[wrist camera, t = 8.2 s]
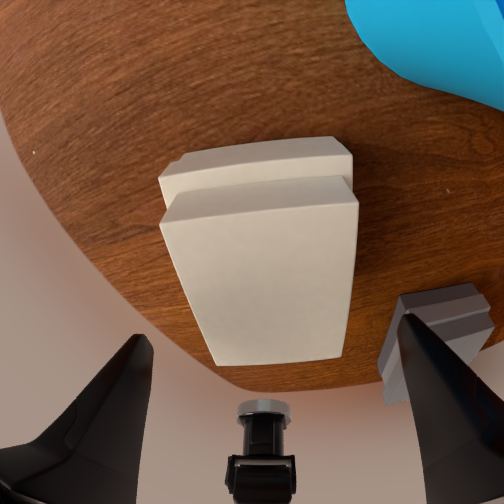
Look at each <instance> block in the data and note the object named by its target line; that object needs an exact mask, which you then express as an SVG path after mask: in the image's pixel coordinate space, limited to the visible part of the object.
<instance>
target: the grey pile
mask: <svg viewBox="0 0 504 504" xmlns="http://www.w3.org/2000/svg"><path fill="white" fill-rule="evenodd" d="M489 309H490V305H489V304H488V302H487V300H486V299H485V297H484V295H483V294H479V292H478V291H477V289H476V288H475V286H474V284H473V283H472V282H471V283H466V284H461V285H456V286H451V287H446V288H440V289H434V290H429V291H423V292H417V293H411V294H404V295H399V297H398V301H397V304H396V308H395V311H394V314H393V317H392V321H391V324H390V327H389V330H388V333H387V336H386V339H385V341H384V344H383V347H382V350H381V353H380V355H379V358H378V360H377V366H378V370H379V374H380V376H381V375H382V378H383V382H384V388H383V390H382V394H383V398H384V402H385V405H389V404H393V403H397V402H401V401H406V400H410V398H409V394H408V390H407V386H406V382H405V378H404V374H403V369H402V363H401V356H400V350H399V344H398V339H397V327H398V325H399V322H400V319H401V316H402V315H403V314H407V313H414V314H415V315H416V316H418V317H419V318H420V319H421V320H422V321H423V322H424V323H425V324H426V325H427V326H428V327H429V328H430V329H431V330H432V331H433V332H434V333H436V334H437V335H438V336H439V337H440V338H441V339H442V340H443V341H444V342H445V343H446V344H447V345H448V346H449V347H450V348H451V349H452V350H453V351H454V352H455V353H456V354H457V355H458V356H459V357H460V358H461V359H462V360H463V361H464V362H465V363H466V364H467V365H469V364H470V363H471V361H472V360H473V359H474V357H475V356H476V354H477V353H478V352H479V350H480V349H481V348H482V346H483V345H484V343H485V342H486V340H487V339H488V337H489V336H490V334H491V333H492V331H493V329H494V328H495V325H494V323H493V322H492V320H491V318H490V316H489V314H488V311H489Z"/></svg>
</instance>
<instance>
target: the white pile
mask: <svg viewBox="0 0 504 504" xmlns="http://www.w3.org/2000/svg"><path fill="white" fill-rule="evenodd" d="M339 175H341V176H342V177H343V178H344V180H345V181H346V183H347V185H348V186H349V188H350V189H351V191H352V189H353V156H352V154H351V153H350V152H349V151H348V150H347V149H346V148H345V147H344V146H343V145H342V144H341V143H340V142H338V141H337V140H336V139H335V138H334V137H333V136H325V137H308V138H295V139H283V140H273V141H264V142H255V143H247V144H240V145H233V146H226V147H219V148H213V149H207V150H201V151H195V152H190V153H185V154H184V155H183V156H182V158H181V159H180V160H179V161H175V162H172V163H170V165H169V166H168V167H167V168H166V169H165V170H164V172H163V173H162V174H161V175H160V176H159V178H158V180H159V183H160V187H161V190H162V193H163V197H164V200H165V203H166V206H167V210H168V208H169V206H170V204H171V203H172V201H173V199H174V198H175V196H176V195H177V194H180V193H186V192H192V191H199V190H205V189H212V188H220V187H227V186H235V185H243V184H251V183H259V182H269V181H278V180H288V179H299V178H311V177H324V176H339Z"/></svg>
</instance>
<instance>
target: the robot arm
mask: <svg viewBox="0 0 504 504" xmlns="http://www.w3.org/2000/svg"><path fill="white" fill-rule="evenodd" d="M397 339H398V344H399V350H400V356H401V363H402V369H403V374H404V378H405V382H406V386H407V390H408V394H409V398H410V403H411V407H412V411H413V416H414V421H415V425H416V431H417V436H418V441H419V447H420V452H421V459H422V466H423V473H424V482H425V490H426V501H427V504H504V401H503V400H502V399H500V398H499V397H498V396H497V395H496V394H495V393H494V392H493V391H492V390H491V389H490V388H489V387H488V386H487V385H486V384H485V383H484V382H483V381H482V380H481V379H480V378H479V377H477V375H476V374H475V373H474V372H473V371H472V370H471V369H470V367H469V366H468V365H467V364H466V363H465V362H464V361H463V360H462V359H461V358H460V357H459V356H458V355H457V354H456V353H455V352H454V351H453V350H452V349H451V348H450V347H449V346H448V345H447V344H446V343H445V342H444V341H443V340H442V339H441V338H440V337H439V336H438V335H437V334H436V333H434V332H433V331H432V330H431V329H430V328H429V327H428V326H427V325H426V324H425V323H424V322H423V321H422V320H421V319H420V318H419V317H418V316H416V315H415V314H414V313H407V314H403V315H402V316H401V319H400V322H399V325H398V327H397ZM153 354H154V350H153V347H152V345H151V344H150V342H149V340H148V339H147V337H146V336H145V335H144V334H134V335H132V336H131V337H130V338H129V339H128V341H127V342H126V343H125V344H124V345H123V346H122V347H121V348H120V349H119V350H118V352H117V353H116V354H115V355H114V356H113V357H112V358H111V359H110V360H109V361H108V362H107V364H106V365H105V366H104V367H103V368H102V369H101V370H100V371H99V372H98V374H97V375H96V376H95V377H94V378H93V379H92V380H91V381H90V383H89V384H88V385H87V386H86V387H85V388H84V390H83V391H82V392H81V393H80V394H79V395H78V396H77V397H76V399H75V400H74V401H73V402H72V403H71V404H70V405H69V406H68V408H67V409H66V410H65V411H64V412H63V413H62V414H61V415H60V416H59V417H58V418H57V419H56V420H55V421H54V422H53V423H52V424H51V425H50V426H49V427H48V428H47V429H46V430H45V431H44V432H43V433H42V434H41V435H40V436H39V437H37V438H36V439H35V440H33V441H31V442H29V443H27V444H23V445H18V446H13V447H9V448H3V449H0V504H136V496H137V485H138V474H139V464H140V457H141V449H142V442H143V435H144V428H145V421H146V415H147V408H148V403H149V397H150V390H151V381H152V367H153ZM239 420H240V422H241V424H242V426H243V427H244V441H243V456H241V455H232V456H230V457H228V466H227V472H226V478H225V485H226V486H228V489H229V493H230V494H233V500H234V504H290V502H291V499H292V494H295V493H296V469H295V456H294V455H290V456H284V446H283V430H284V429H286V427H287V426H286V418H285V414H271V415H240V416H239ZM238 464H240V466H238ZM242 464H243V465H242ZM286 465H288V467H287V466H286Z"/></svg>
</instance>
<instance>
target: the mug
mask: <svg viewBox="0 0 504 504" xmlns="http://www.w3.org/2000/svg"><path fill="white" fill-rule="evenodd" d="M345 3H346V8H347V13H348V16H349V18H350V20H351V22H352V23H353V25H354V27H355V29H356V31H357V33H358V35H359V37H360V39H361V40H362V41H363V42H364V44H365V45H366V46H367V47H368V48H369V49H370V50H371V52H372V53H373V54H374V55H375V56H376V58H377V59H378V60H379V61H380V62H382V63H383V64H384V65H386V66H387V67H388V68H390V69H391V70H392V71H394V72H395V73H396V74H398V75H399V76H400V77H402V78H405V79H407V80H410V81H412V82H414V83H417V84H419V85H421V86H425V87H429V88H433V89H437V90H441V91H444V92H448V93H452V94H455V95H458V96H462V97H465V98H468V99H471V100H474V101H477V102H480V103H483V104H485V105H488V106H491V107H493V108H496V109H499V110H501V111H504V0H345Z"/></svg>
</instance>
